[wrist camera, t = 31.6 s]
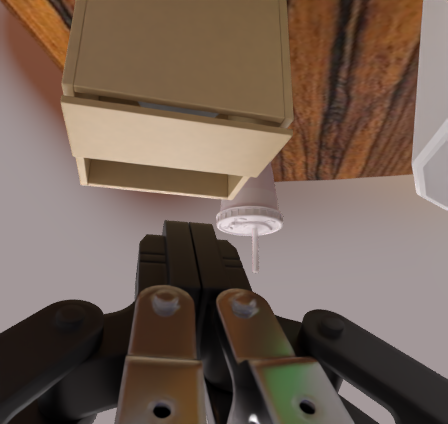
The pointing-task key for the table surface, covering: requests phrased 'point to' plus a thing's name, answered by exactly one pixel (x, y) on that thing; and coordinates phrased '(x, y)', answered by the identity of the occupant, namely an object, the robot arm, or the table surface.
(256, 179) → the smoothie
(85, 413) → the robot arm
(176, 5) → the carton
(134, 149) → the flap
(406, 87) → the table surface
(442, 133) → the cup
